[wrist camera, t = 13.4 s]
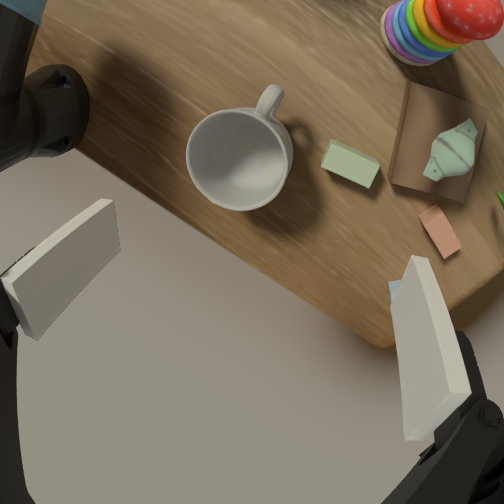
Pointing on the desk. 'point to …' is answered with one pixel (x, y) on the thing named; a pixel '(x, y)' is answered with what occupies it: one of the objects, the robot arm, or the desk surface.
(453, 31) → the stacking toy
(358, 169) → the brick sage
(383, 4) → the desk surface
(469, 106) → the plinth
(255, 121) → the teacup
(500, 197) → the snack cup
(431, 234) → the brick terracotta
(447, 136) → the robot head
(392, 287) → the brick blue
